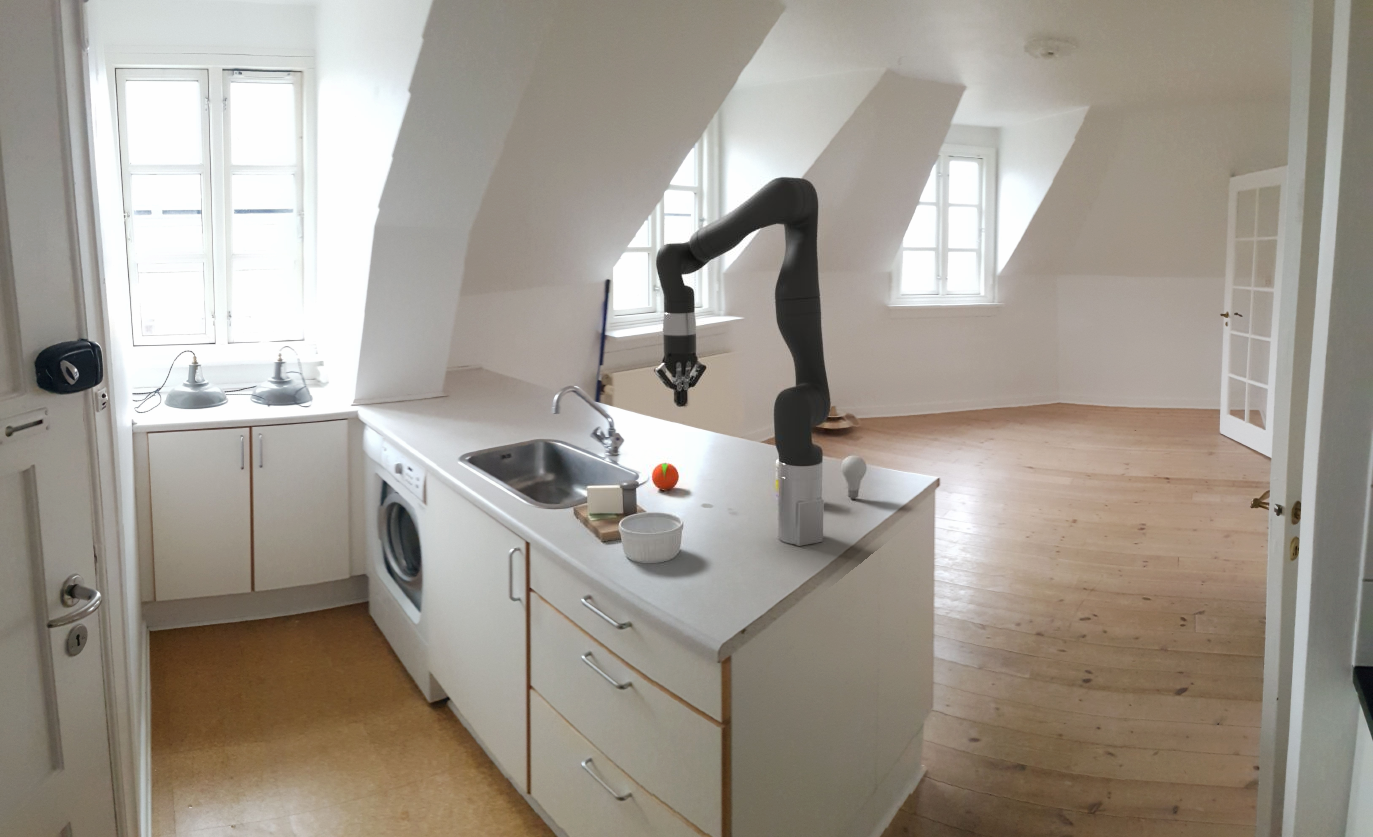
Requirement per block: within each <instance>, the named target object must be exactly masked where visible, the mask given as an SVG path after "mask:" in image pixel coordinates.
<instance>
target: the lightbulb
mask: <svg viewBox="0 0 1373 837" xmlns="http://www.w3.org/2000/svg"><path fill="white" fill-rule="evenodd" d="M840 469H841V470H840V471H841V473H842V476H843V477H844V479H845V482H846V489H847V497H848V498H850V499H851V500H856V499H857V498H858V497H859V490H860V488H861V483H862V481H863V478H864V477H865V475H866V473H867V469H868V467H867V463H866V462H865V460H864V458H863V457H861V456H859V455H849V456H847V457H845V458H844V459H843V461H842V462H841V466H840Z"/></svg>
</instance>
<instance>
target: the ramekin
mask: <svg viewBox="0 0 1373 837" xmlns="http://www.w3.org/2000/svg"><path fill="white" fill-rule="evenodd" d="M683 530H684V521H683V519H682V518H681V517H680V516H677V515H676V514H672V513H669V512H662V511H661V512H660V511H646V513H638V514H634V515H630V516H628V517H626V518H624V519H622V520H621V521H620V523H619V532H620V534H621V539H620V541H621V546H622V550H623V552H624V555H625V556H626V557H627V558H628V559H629V560H631V561H633V562H636V561H637V562H636V563H641V564H657V563H658V562H659V563H663V562H664V561H665V562H668V561H670V560H672V559H674V558H675V557H676V556H677V555H678V553H679V552H680V549H681V546H682V545H681V544H682V538H683V536H682V535H683Z"/></svg>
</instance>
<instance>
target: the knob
mask: <svg viewBox="0 0 1373 837" xmlns="http://www.w3.org/2000/svg"><path fill="white" fill-rule="evenodd" d="M639 487H640V482H639V481H638V480H633V479H629V480H627V479H626V480H623V481H622V480H621V481H620V482H619V484H617V485H615V484H614V485H613V484H612V485H587V486H586V500H587V503H586V505H588V513H623V514H625V515H634V514H636V513H637V505H638V503H637V501H638V500H637V489H638V488H639Z"/></svg>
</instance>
